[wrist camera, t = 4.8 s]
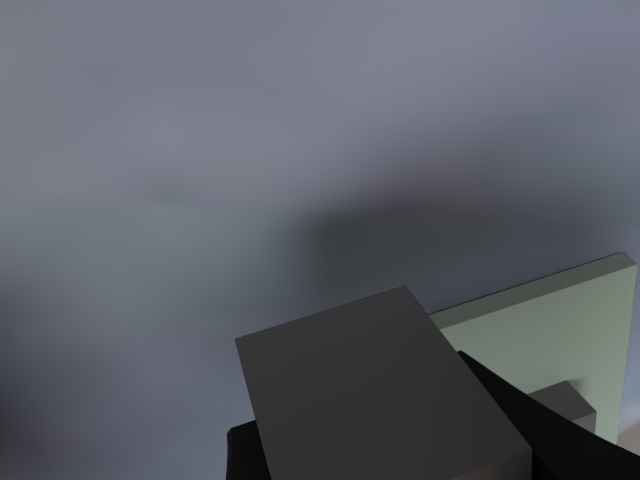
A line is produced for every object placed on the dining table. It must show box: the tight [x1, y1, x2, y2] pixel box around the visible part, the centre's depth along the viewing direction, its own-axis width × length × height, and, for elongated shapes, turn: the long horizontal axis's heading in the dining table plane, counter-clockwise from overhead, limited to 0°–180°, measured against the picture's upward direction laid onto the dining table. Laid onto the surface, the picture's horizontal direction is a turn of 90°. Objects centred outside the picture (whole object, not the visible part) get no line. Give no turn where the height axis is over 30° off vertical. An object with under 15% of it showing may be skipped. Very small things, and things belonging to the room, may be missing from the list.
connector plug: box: [235, 286, 532, 480], centre depth 12 cm, size 4×4×6 cm
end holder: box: [429, 253, 638, 445], centre depth 27 cm, size 14×18×3 cm
